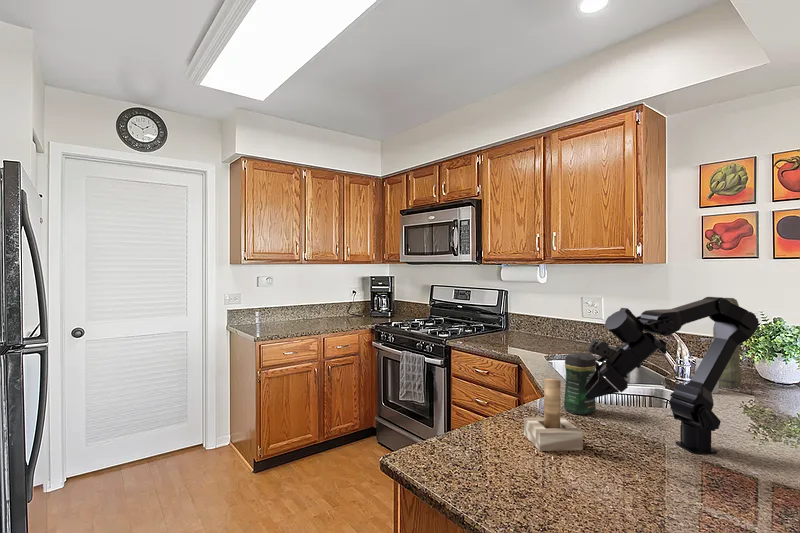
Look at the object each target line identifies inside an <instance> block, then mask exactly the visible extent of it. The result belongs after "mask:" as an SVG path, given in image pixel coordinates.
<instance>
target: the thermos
mask: <svg viewBox="0 0 800 533" xmlns="http://www.w3.org/2000/svg"><path fill="white" fill-rule="evenodd" d="M724 298H725V299H727V300H728V301H730V302H731V303H733V304H735V305H737V306H739V307H740V305H739V303H738V299H735V298H734V297H724ZM712 331H713V333H712V334H713V335H712V336H713V337H712V341H713V340H714V338H715V330H714V326H712ZM740 345H741V344H739V345H738V346H737V347H736V349H735V351H734V353H733V355H732V357H731V358H730V360H729V362H728V364H727V366H726V368H725V369H724V371H723V373H722V375H721V377H720V378H719V387H720V386H722V387H721V388H725V387H731V388H730V389H734V388H737V389H739V388H738V387H741V386H742V385H741V382H742V371H741V368H740V367H741V366H740V363H741V362H740V359H741V358H740V352H741V351H740ZM741 388H742V387H741Z"/></svg>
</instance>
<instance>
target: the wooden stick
mask: <svg viewBox="0 0 800 533" xmlns="http://www.w3.org/2000/svg"><path fill="white" fill-rule="evenodd" d="M543 382H544V383H543V387H544V390H543V392H544V393H543V395H544V398H543V400H544V401H543V404H544V405H543V417H544V427H545V428H546V429H552V428H560V417H561V382H562V381H561V380H560V379H556V378H544V381H543Z"/></svg>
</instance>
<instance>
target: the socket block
mask: <svg viewBox="0 0 800 533" xmlns="http://www.w3.org/2000/svg"><path fill="white" fill-rule="evenodd" d="M523 435H524V436H525V437H526V438H527V439H528V440H529V441H530V443H531V444H532V445H533V446H535V448H537V450H539V451H540V452H543V451H544V452H545V451H546V452H552V451H557V452H558V451H560V452H561V451H584V450H583V449H584V448H583V446H584V444H583V443H584V441H583V440H584V438H583V437H584V436H583V435H584V433H583V430H580V429H579V428H578V427H577V426H575V424H573V423H571V422H570V421H569V420H568V419H566V418H565V417H563V416H560V428H552V429H546V428H545V427H544V416H543V417H538V416H537V417H523Z"/></svg>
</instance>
